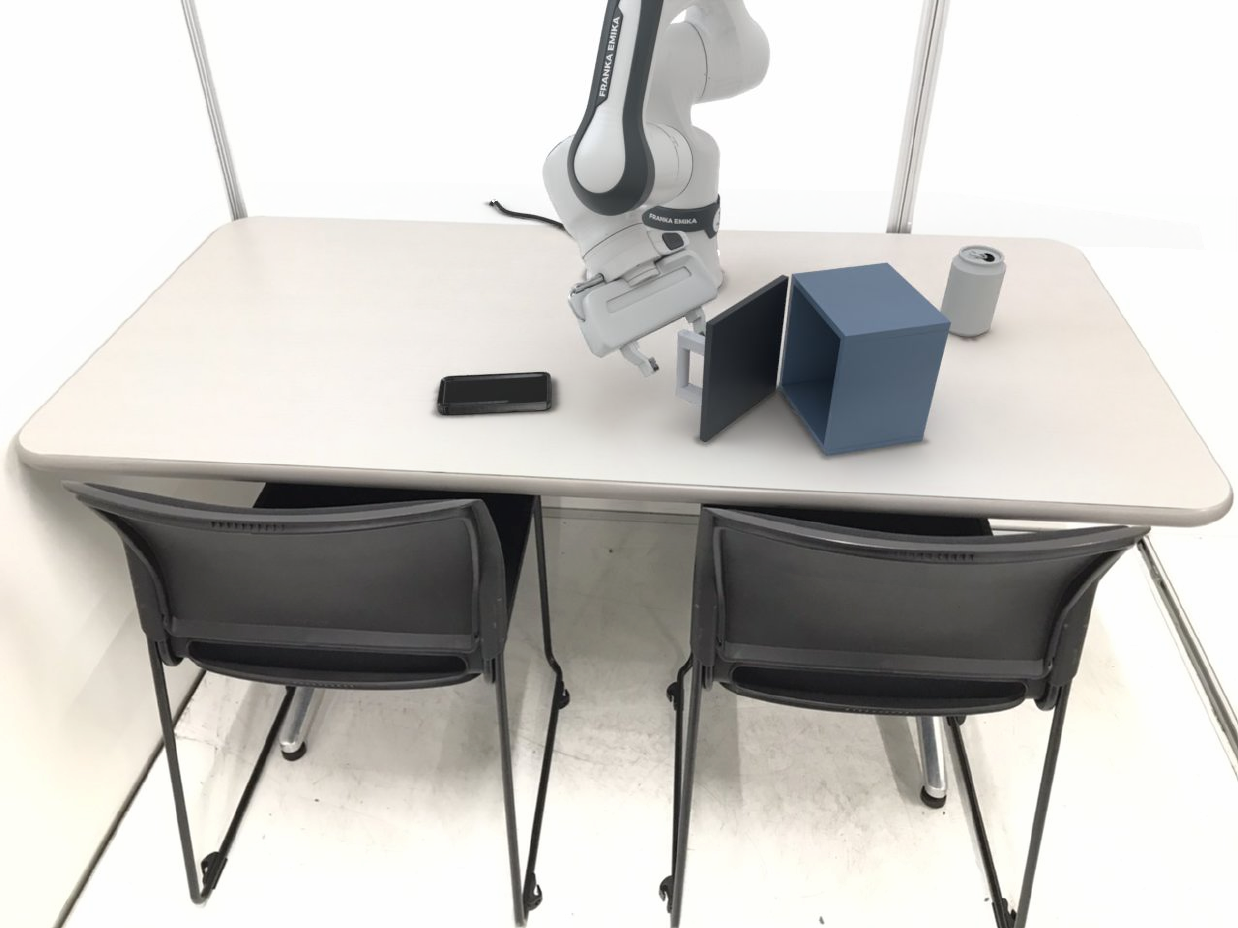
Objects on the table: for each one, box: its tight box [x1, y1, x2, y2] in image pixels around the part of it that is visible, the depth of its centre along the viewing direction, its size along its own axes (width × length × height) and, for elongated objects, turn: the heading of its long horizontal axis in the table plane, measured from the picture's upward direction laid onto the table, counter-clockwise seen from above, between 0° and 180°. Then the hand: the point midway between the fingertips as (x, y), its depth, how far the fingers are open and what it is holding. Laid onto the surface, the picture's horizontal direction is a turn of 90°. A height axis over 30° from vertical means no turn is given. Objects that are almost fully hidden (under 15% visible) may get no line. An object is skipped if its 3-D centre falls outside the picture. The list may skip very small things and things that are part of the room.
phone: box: [436, 371, 552, 415], centre depth 123 cm, size 8×1×15 cm
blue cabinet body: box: [778, 262, 951, 457], centre depth 114 cm, size 13×16×17 cm
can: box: [939, 244, 1007, 338], centre depth 133 cm, size 8×8×12 cm
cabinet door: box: [675, 274, 790, 443], centre depth 115 cm, size 6×16×17 cm, turn 139°
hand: (679, 359), depth 114 cm, fingers open, 8 cm apart
